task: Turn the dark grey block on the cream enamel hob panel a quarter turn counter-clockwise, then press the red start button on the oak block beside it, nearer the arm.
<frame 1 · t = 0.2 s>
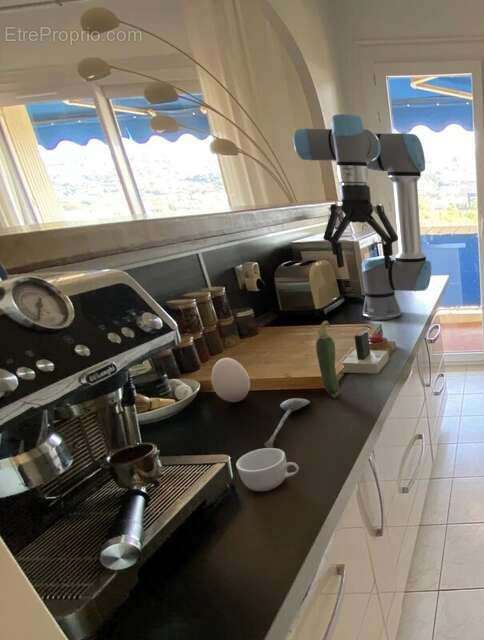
hand: (364, 267, 126), 28 cm above the counter, tool pointing down, fingers open, 13 cm apart
button block: (378, 352, 144), on the counter
soupspoon: (286, 424, 102), on the counter
start button: (376, 338, 142), point 5 cm above the counter, slide at 0.1 cm
teacup: (273, 484, 82), on the counter
dark grey block: (362, 344, 131), point 7 cm above the counter, hinge at 0.0°
hob panel: (365, 365, 134), on the counter
vegetable: (334, 396, 115), on the counter
egg: (236, 401, 112), on the counter
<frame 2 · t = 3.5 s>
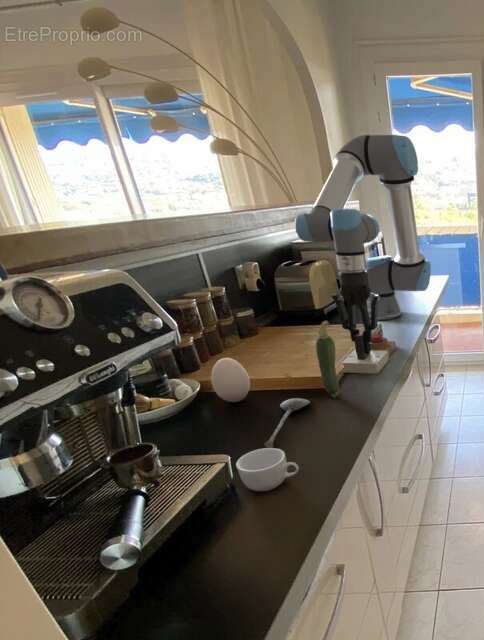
hand: (363, 351, 132), 4 cm above the counter, tool pointing down, fingers closed on dark grey block, 2 cm apart
dark grey block: (362, 344, 131), point 7 cm above the counter, hinge at 0.0°, touching gripper
everything else where it was.
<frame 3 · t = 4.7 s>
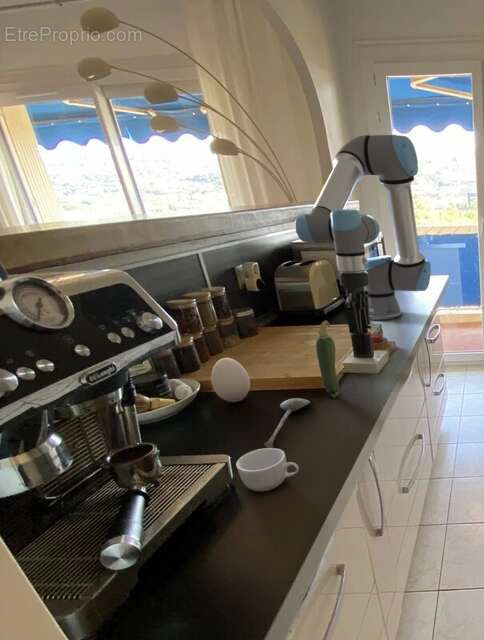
hand: (363, 352, 132), 4 cm above the counter, tool pointing down, fingers open, 2 cm apart
dark grey block: (362, 344, 131), point 7 cm above the counter, hinge at 89.4°
everything else where it was.
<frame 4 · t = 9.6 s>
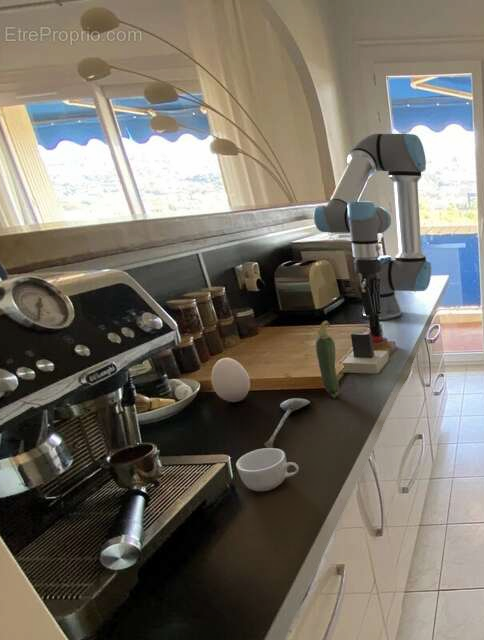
hand: (375, 335, 142), 6 cm above the counter, tool pointing down, fingers closed
start button: (376, 338, 142), point 5 cm above the counter, slide at 0.0 cm, touching gripper
everything else where it was.
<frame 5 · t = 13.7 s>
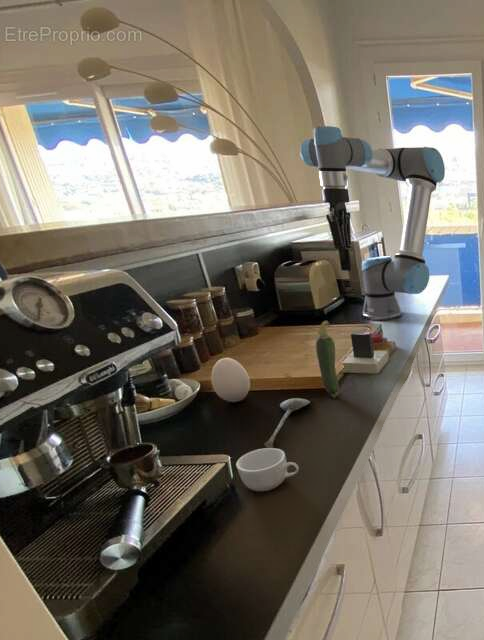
hand: (346, 270, 141), 24 cm above the counter, tool pointing down, fingers closed
start button: (376, 338, 142), point 5 cm above the counter, slide at 0.1 cm
everything else where it was.
at the end: dark grey block at +89° (first picture: +0°); start button pushed in 1.0 cm at the most during the clip, back to where it started at the end; start button slide at 0.1 cm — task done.
